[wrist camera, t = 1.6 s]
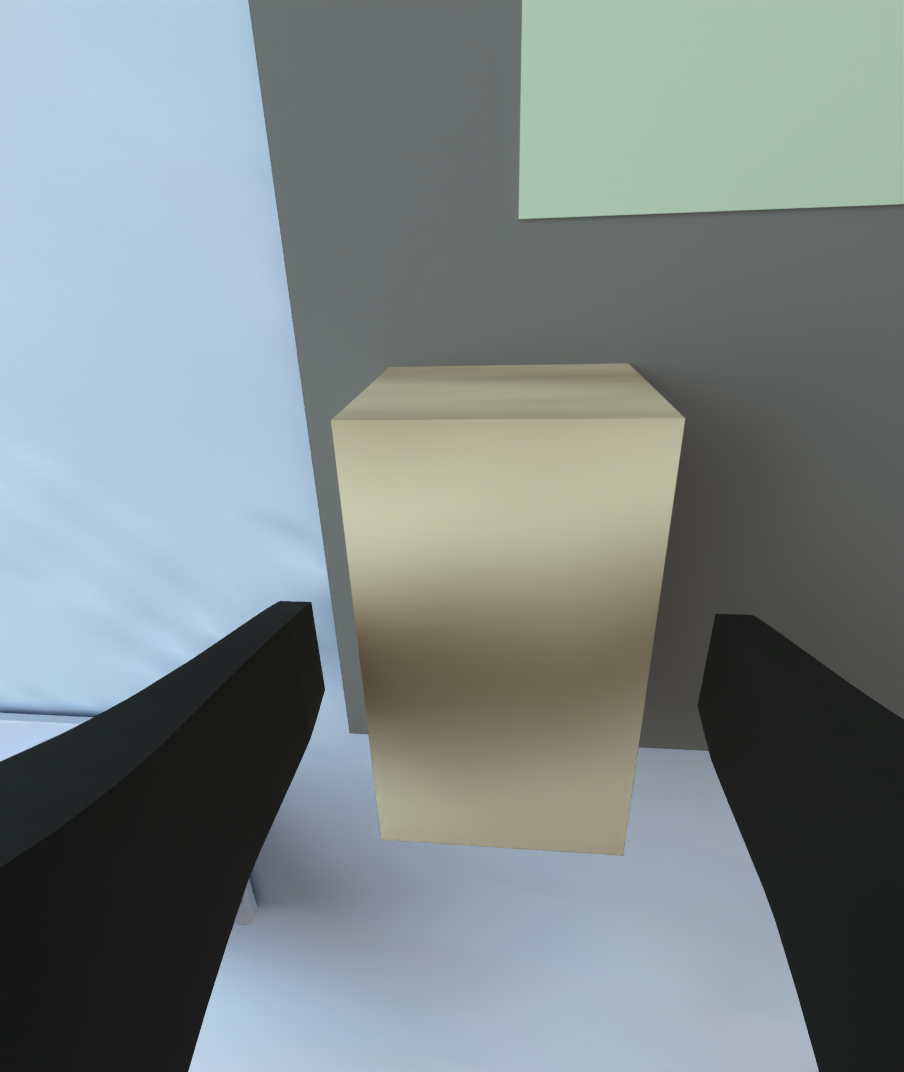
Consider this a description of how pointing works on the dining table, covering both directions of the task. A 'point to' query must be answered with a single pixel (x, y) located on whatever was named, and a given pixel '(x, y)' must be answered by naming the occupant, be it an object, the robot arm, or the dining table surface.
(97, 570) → the dining table surface
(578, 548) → the maple block
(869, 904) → the robot arm
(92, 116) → the dining table surface
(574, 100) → the rubber mat
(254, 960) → the dining table surface
